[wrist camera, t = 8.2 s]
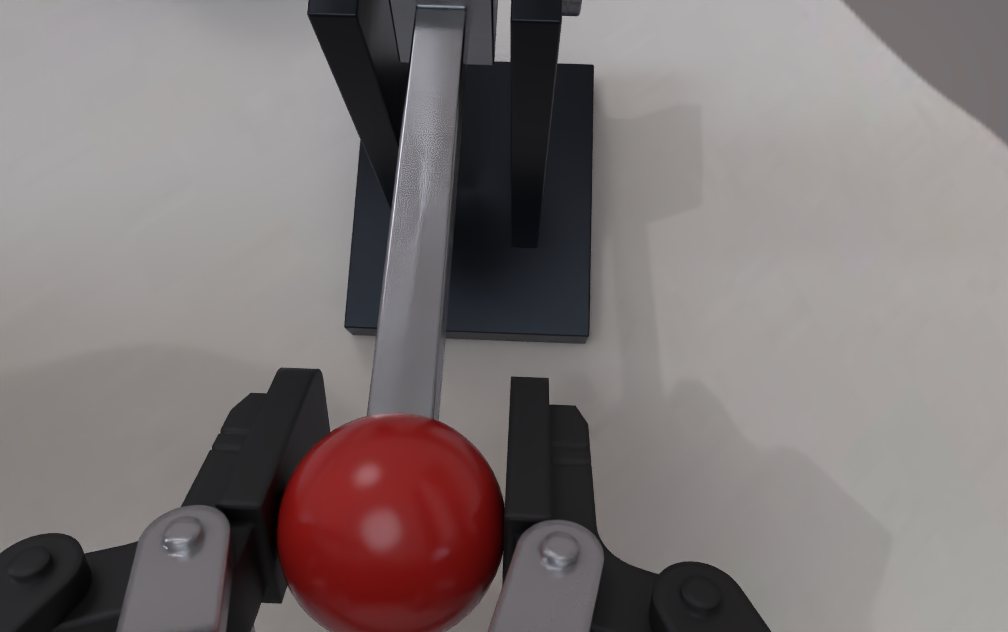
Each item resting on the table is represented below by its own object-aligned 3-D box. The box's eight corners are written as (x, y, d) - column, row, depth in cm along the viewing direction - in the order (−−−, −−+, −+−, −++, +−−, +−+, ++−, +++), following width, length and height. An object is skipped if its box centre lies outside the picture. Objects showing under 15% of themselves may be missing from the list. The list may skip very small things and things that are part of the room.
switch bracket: (585, 344, 30) (665, 185, 14) (351, 335, 30) (182, 168, 15) (590, 82, 32) (662, -293, 17) (373, 75, 32) (248, -303, 17)
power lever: (501, 655, 13) (500, 649, 10) (291, 646, 13) (223, 637, 10) (527, -2, 20) (532, -137, 16) (384, -6, 20) (361, -142, 16)
